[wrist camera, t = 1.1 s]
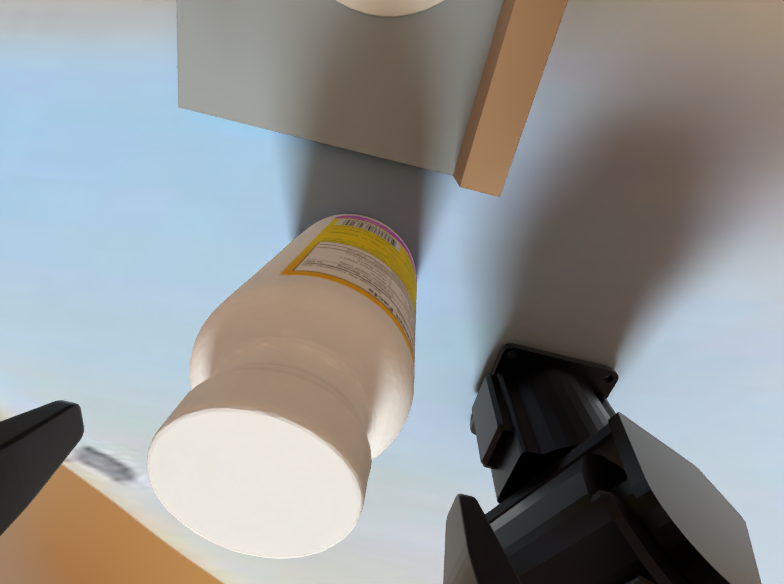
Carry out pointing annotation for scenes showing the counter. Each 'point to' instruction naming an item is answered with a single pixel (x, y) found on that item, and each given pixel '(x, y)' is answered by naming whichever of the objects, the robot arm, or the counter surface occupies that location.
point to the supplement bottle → (294, 394)
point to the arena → (375, 75)
